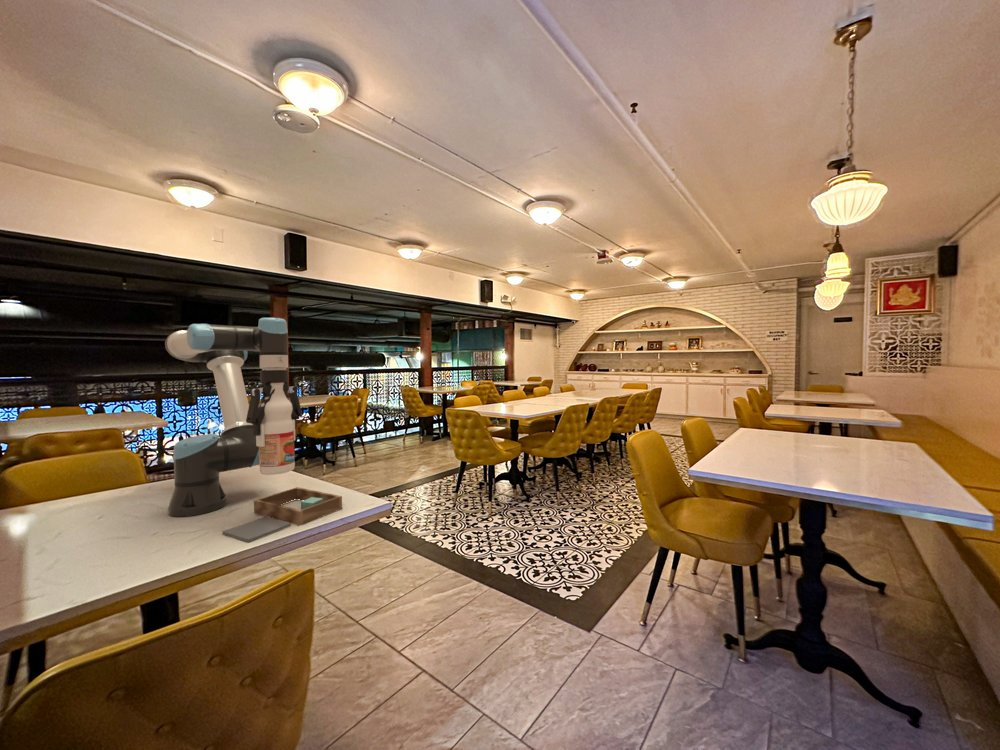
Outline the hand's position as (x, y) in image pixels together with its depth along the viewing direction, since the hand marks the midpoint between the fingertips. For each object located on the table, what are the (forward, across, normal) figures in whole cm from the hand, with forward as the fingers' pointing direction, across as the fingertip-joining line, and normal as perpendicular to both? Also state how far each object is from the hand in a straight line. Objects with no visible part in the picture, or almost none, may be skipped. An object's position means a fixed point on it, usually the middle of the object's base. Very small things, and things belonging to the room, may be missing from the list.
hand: (276, 443), depth 123 cm
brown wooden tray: (+23, +6, -1) cm, 23 cm away
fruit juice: (+9, 0, 0) cm, 9 cm away
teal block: (+23, +6, -8) cm, 25 cm away
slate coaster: (+23, -9, -4) cm, 25 cm away
